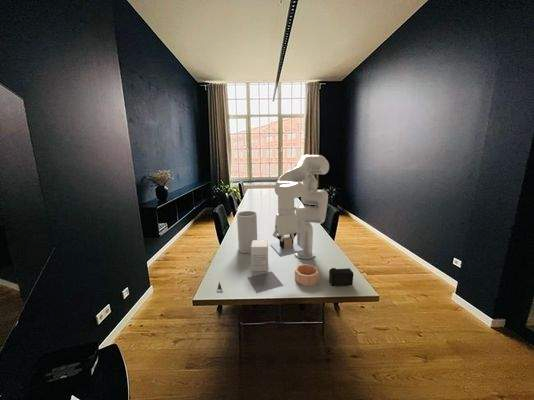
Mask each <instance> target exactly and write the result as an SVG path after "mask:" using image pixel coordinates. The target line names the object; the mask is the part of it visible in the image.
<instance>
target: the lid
mask: <svg viewBox="0 0 534 400" xmlns="http://www.w3.org/2000/svg"><path fill="white" fill-rule="evenodd" d="M283 241H284V249H282V248H281V247H280V242H276V243H270V247H271V248H272V250H273V251H275V252H276V254H277V256H279V257H281V258H282V257H286V256H291V255H295V254H296V253H300V252H303V251H304V250H303V249H302V248H301V247H299V246H298V245H297V242H295V241H294V240H293V247H292V238H291V237H290V235H289V234H288V235H284V238H283Z"/></svg>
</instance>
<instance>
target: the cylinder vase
mask: <svg viewBox="0 0 534 400" xmlns="http://www.w3.org/2000/svg"><path fill="white" fill-rule="evenodd" d="M257 218H258V217H257V212H256V211H252V210H243V211H240V212H238V213H237V214H236V219H237V221H236V222H237V239H238V240H237V241H238V251H239V252H240V253H242V254H251V245H252V241H253V240H258V224H257V223H258V222H257V220H258V219H257Z"/></svg>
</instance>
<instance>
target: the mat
mask: <svg viewBox="0 0 534 400" xmlns="http://www.w3.org/2000/svg"><path fill="white" fill-rule="evenodd" d="M246 279H247V280H248V281H249V283H250V285H251V286H252V288H253V290H254V291H255V293H256V294H259V293H262V292H265V291H269V290H272V289H277V288H279V287H280V288H281V287H283V286H285V285H284V284H283V283H282V282H281V281H280V279H279V278H278V277H277V276H276V275H275V273H274V272H273V271H266V272H263V273H259V274H255V275H251V276H248V277H246Z"/></svg>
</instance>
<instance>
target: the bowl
mask: <svg viewBox="0 0 534 400" xmlns="http://www.w3.org/2000/svg"><path fill="white" fill-rule="evenodd" d="M294 280H295V281H296V283H297V284H299V285H302V286H306V287H308V286H311V287H312V286H316V285H317V284H318V282H319V281H318V280H319V269H318V268H317V267H316V266H315V265H313V264H307V263H303V264H298V265H297V266H296V267H295V269H294Z"/></svg>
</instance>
